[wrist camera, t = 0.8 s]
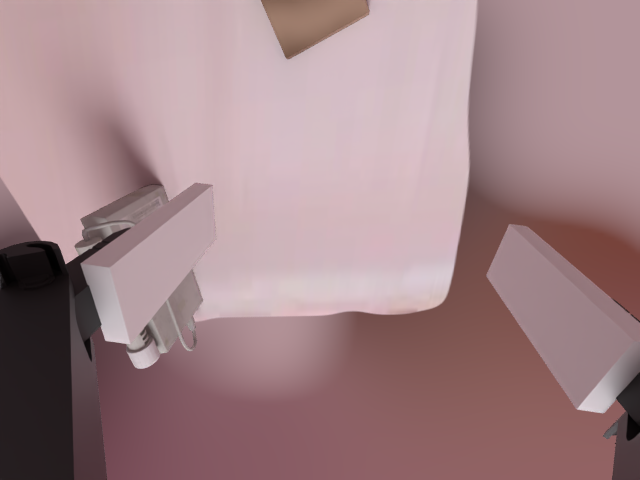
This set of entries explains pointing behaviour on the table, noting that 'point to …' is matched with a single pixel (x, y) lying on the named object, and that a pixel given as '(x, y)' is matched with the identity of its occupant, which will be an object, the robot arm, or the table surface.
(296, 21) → the plank
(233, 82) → the table surface
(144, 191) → the geiger counter
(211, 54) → the table surface
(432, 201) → the table surface
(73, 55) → the table surface
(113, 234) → the robot arm
